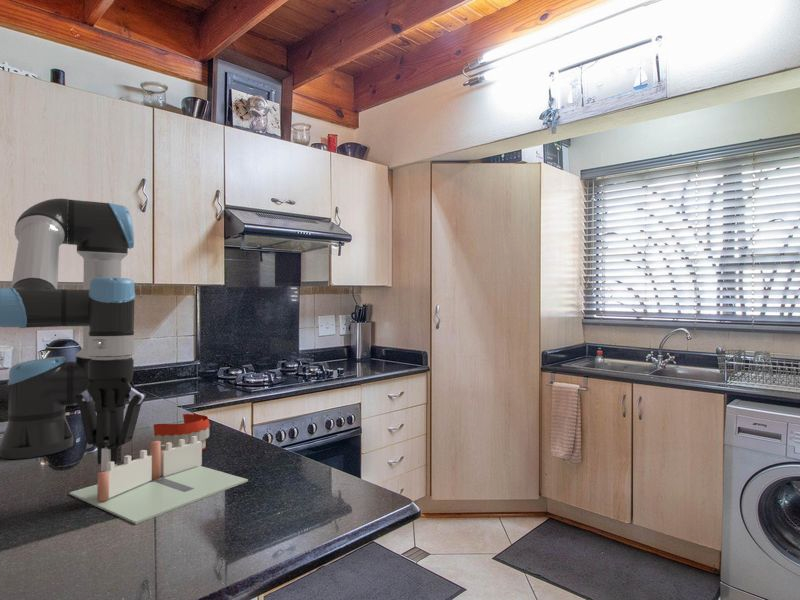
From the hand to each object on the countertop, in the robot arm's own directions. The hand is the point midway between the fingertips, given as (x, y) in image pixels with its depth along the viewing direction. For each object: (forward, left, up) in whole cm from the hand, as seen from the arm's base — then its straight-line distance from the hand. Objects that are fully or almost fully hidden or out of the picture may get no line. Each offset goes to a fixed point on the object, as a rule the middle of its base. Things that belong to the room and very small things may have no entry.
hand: (109, 480), depth 90 cm
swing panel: (+1, +3, -2) cm, 4 cm away
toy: (-14, +25, -3) cm, 29 cm away
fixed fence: (-1, +14, -3) cm, 15 cm away
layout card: (+4, +8, -3) cm, 10 cm away
